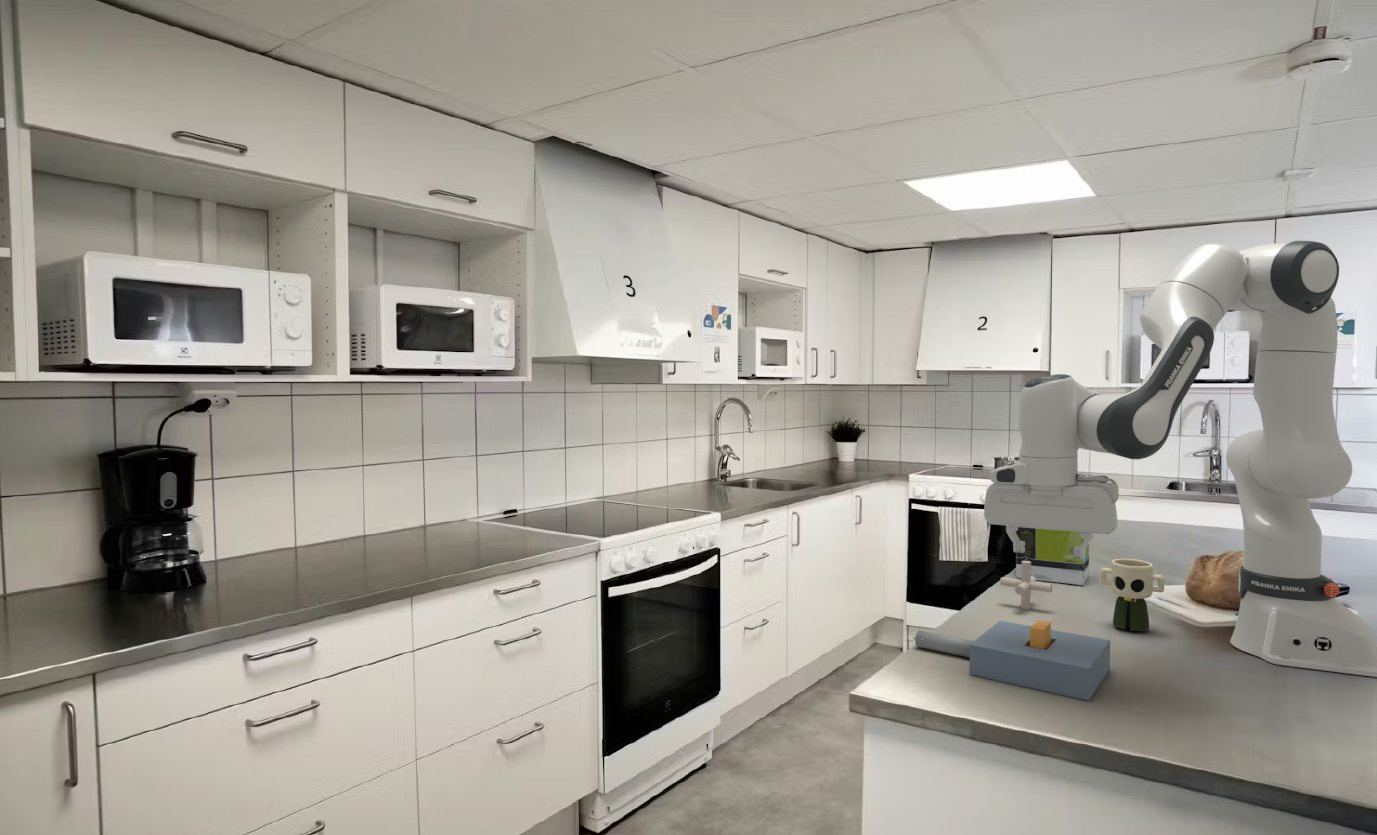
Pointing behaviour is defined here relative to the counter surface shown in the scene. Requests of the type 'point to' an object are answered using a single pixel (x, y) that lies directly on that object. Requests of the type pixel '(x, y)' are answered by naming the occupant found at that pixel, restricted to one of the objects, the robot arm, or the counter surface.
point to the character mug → (1132, 591)
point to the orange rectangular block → (1040, 635)
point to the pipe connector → (1026, 585)
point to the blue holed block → (1030, 658)
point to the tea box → (1052, 555)
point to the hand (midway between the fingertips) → (1048, 555)
